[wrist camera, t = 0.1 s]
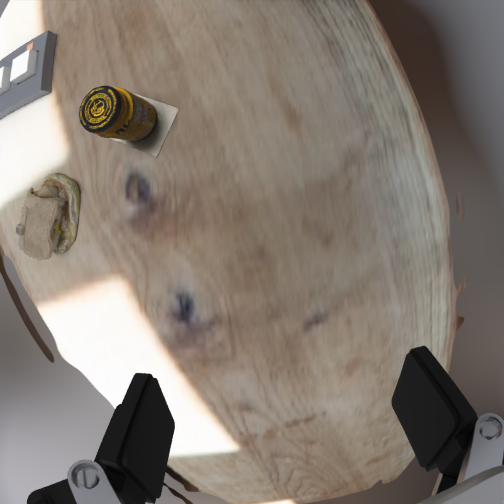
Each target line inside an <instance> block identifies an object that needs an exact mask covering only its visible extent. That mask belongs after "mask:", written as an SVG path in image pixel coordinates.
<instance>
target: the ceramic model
mask: <svg viewBox="0 0 504 504" xmlns="http://www.w3.org/2000/svg"><path fill="white" fill-rule="evenodd" d="M79 204H80V195H79V189H78V186H77V184H76V182H74V181H73V180H72V179H70V178H69V177H67V176H65V175H62V174H55V173H54V174H50V175H48V176H47V177H46V178H45V181H44V182H43V183H42V185H41V187H40V189H39V191H34V192H33V188H30V190H29V191H28V192H27V196H26V199H25V202H24V206H23V208H22V212H21V220H20V224H18V225H17V226H16V234H18V235H19V241H18V243H19V248H20V249H21V250H22V251H24V253H25V254H26V255H28V256H30V257H32V258H34V259H37V260H43V259H45V260H46V259H49V258H50V257H51V254H52V252H53V251H54V253H55V254H60V253H64V252H65V251H66V250H67V249H68V248H69V247H70V246H71V245H72V244H73V242H74V241H75V239H76V232H77V225H78V217H79Z"/></svg>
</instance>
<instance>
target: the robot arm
mask: <svg viewBox="0 0 504 504" xmlns="http://www.w3.org/2000/svg"><path fill="white" fill-rule="evenodd" d="M392 407H393V409H394V411H395V413H396V415H397V417H398V419H399V421H400V423H401V425H402V427H403V429H404V431H405V433H406V436H407V438H408V440H409V442H410V444H411V446H412V448H413V451H414V453H415V455H416V457H417V459H418V462H419V464H420V466H421V467H425V469H426V471H427V472H428V471H430V470H432V469H435V468H437V467H438V469H439V471H440V473H439V476H438V479H437V482H436V485H435V487H434V490H433V493H432V495H431V497H430V498H428V499H426V500H423V501H421V502H419V503H416V504H504V422H503V420H502V419H501V418H500V417H499V416H497V415H495V414H485V415H482V416H481V417H480V418H479V419H478V417H477V414H476V412H475V411H474V409H473V408H472V407H471V405H470V404H469V402H468V401H467V399H466V398H465V397H464V395H463V394H462V393H461V391H460V390H459V389H458V387H457V386H456V384H455V383H454V382H453V381H452V379H451V378H450V377H449V375H448V374H447V372H446V371H445V370H444V369H443V367H442V366H441V365H440V363H439V362H438V361H437V360H436V358H435V357H434V356H433V355H432V353H431V352H430V351H429V350H428V348H427V347H426V346H421V347H417V348H413V349H411V350H410V352H409V353H408V354H407V355H406V358H405V361H404V365H403V368H402V371H401V374H400V377H399V380H398V383H397V386H396V389H395V391H394V394H393V397H392ZM174 429H175V422H174V419H173V417H172V415H171V412H170V410H169V408H168V405H167V403H166V400H165V398H164V396H163V393H162V391H161V388H160V385H159V383H158V380H157V378H153V376H152V375H151V374H146V373H136V374H135V375H134V377H133V379H132V381H131V383H130V385H129V388H128V390H127V392H126V395H125V397H124V399H123V402H122V404H119V405H118V406H117V407H116V409H115V411H114V414H113V416H112V418H111V421H110V423H109V425H108V428H107V430H106V433H105V435H104V437H103V440H102V442H101V445H100V447H99V450H98V452H97V455H96V458H95V460H94V461H92V460H80V461H78V462H76V463H74V464H73V465H72V466H71V467H70V469H69V471H68V476H67V477H68V478H67V479H65V480H62V481H60V482H57V483H55V484H52V485H49V486H47V487H44V488H41V489H38V490H35V491H34V492H32V493H31V494H30V495H29V497H28V499H27V504H145V502H148V503H154V504H155V501H156V498H159V497H160V496H161V492H162V487H163V482H164V476H165V472H166V467H167V462H168V457H169V452H170V448H171V443H172V439H173V434H174Z"/></svg>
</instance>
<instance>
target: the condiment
mask: <svg viewBox="0 0 504 504" xmlns="http://www.w3.org/2000/svg"><path fill="white" fill-rule="evenodd" d="M178 110H179V109H178V108H175V107H172V106H169V105H166V104H163V103H161V102H158V101H155V100H152V99H149V98H146V97H143V96H139V95H136V94H133V93H131V92H129V91H127V90H125V89H122V88H113V87H109V86H101V87H97V88H94V89H93V90H91V91H90V92H89V93H88V94H87V95H86V96H85V98H84V99H83V102H82V104H81V106H80V111H79V117H80V123H81V124H82V126H83V127H84V128H85V129H86V130H87V131H89V132H93V133H95V134H97V135H99V136H101V137H104V138H110V139H113V140H115V141H118V142H121V143H123V144H126V145H128V146H131V147H133V148H136V149H138V150H141V151H143V152H146V153H148V154H151V155H153V156H156V157H157V156H158V153H159V151H160V149H161V147H162V145H163V142H164V140H165V138H166V136H167V133H168V131H169V130H170V127H171V125H172V122H173V121H174V118H175V116H176V114H177V112H178ZM158 115H159V117H158ZM159 118H161V120H160V119H159ZM142 141H143V142H142Z"/></svg>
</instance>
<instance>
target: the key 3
mask: <svg viewBox="0 0 504 504" xmlns="http://www.w3.org/2000/svg"><path fill="white" fill-rule="evenodd" d="M38 53H39V52H36V51H34V50H31V49H29V50H27V51H26V52H24V53H23V54H21V55H19V56H18V57H16V58H15V59H13V62H12V69H11V77H10V82H14V83H22V82H23V81H25V80H27V79H29V78H30V77H32V76H34V75H36V69H37V60H38Z"/></svg>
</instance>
